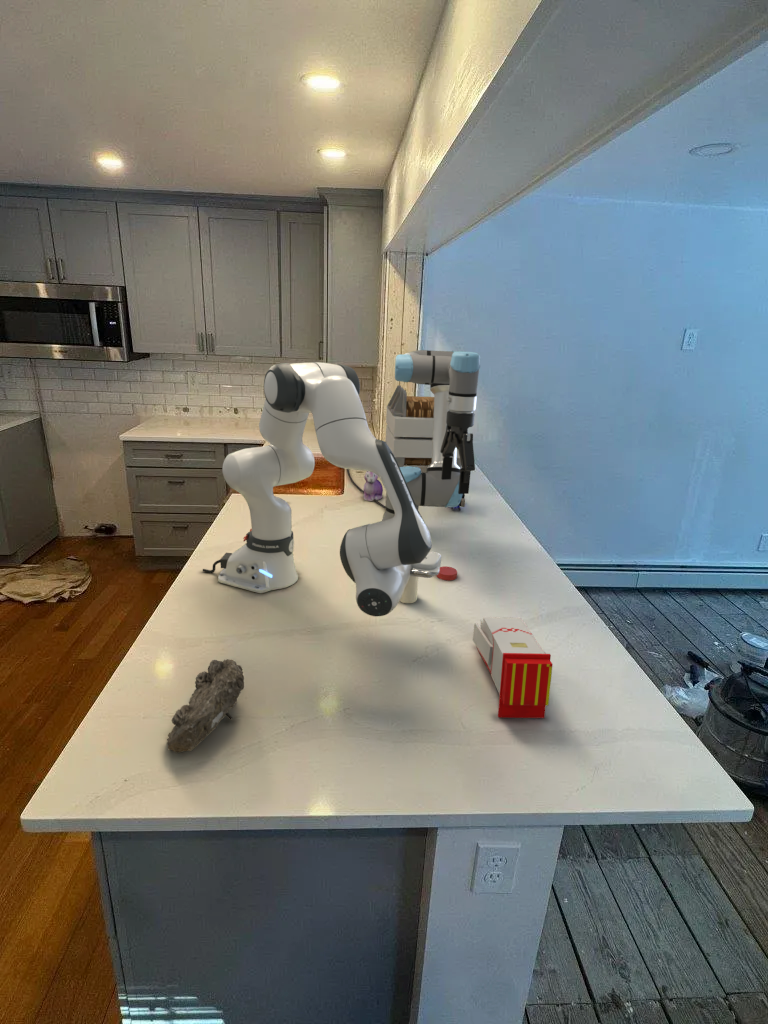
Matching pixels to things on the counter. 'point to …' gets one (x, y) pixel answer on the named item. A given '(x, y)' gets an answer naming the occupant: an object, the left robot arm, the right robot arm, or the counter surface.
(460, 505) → the figurine character
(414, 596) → the jar
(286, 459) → the left robot arm
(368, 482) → the figurine
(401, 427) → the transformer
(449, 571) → the lid
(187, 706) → the fossil
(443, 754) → the counter surface
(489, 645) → the toy
